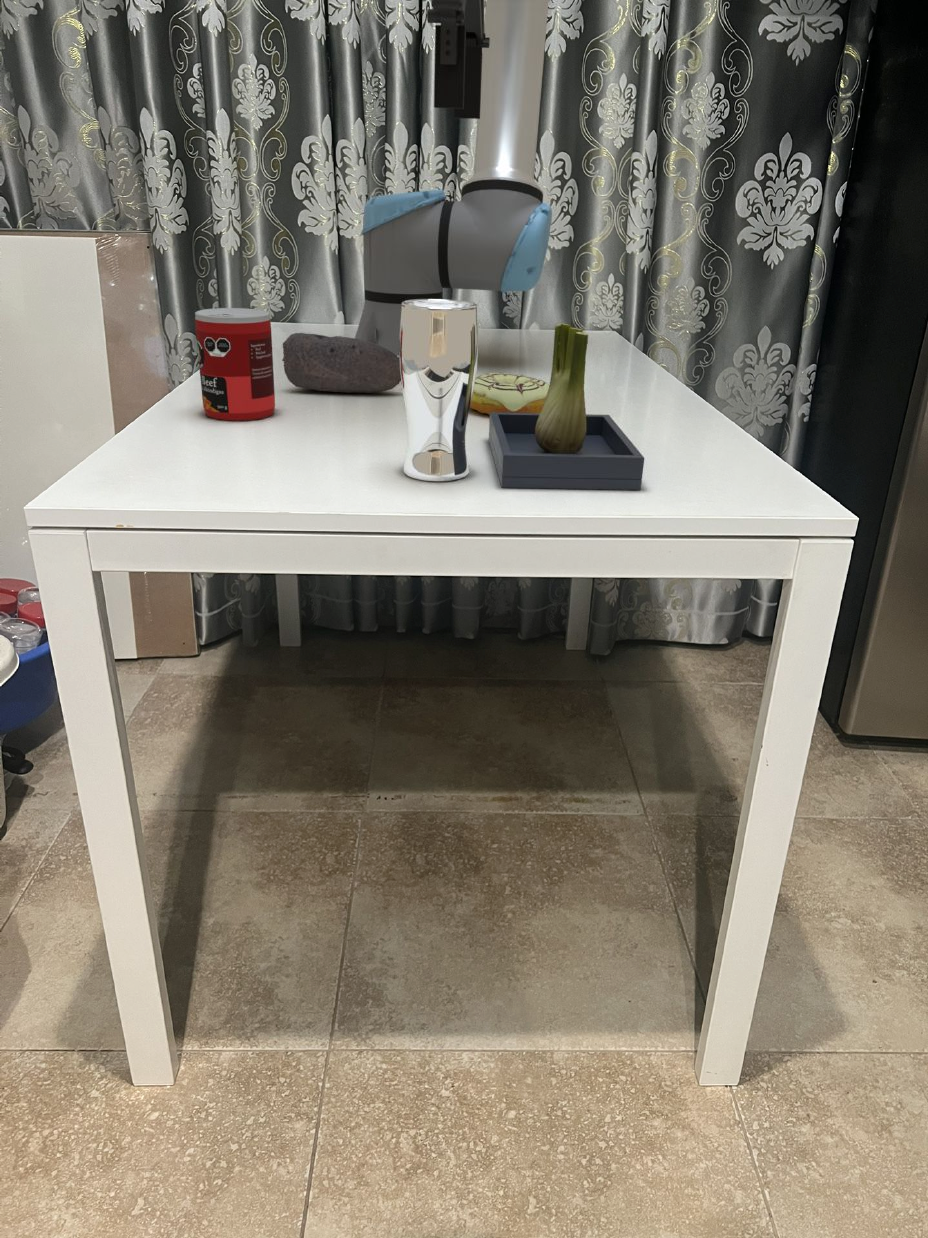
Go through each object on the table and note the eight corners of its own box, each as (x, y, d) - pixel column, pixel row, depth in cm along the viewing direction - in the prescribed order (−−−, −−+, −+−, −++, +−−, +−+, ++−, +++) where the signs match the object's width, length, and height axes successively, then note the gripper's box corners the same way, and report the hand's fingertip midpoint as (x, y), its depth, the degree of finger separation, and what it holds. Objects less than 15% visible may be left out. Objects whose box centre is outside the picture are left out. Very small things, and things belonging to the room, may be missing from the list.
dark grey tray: (488, 440, 96) (489, 411, 94) (606, 442, 96) (609, 414, 95) (501, 487, 81) (503, 454, 80) (640, 490, 82) (644, 457, 80)
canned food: (198, 408, 105) (189, 308, 100) (267, 404, 108) (261, 307, 103) (209, 423, 98) (200, 317, 94) (282, 418, 101) (277, 316, 97)
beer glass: (414, 486, 80) (415, 308, 74) (388, 465, 86) (387, 298, 80) (485, 479, 83) (493, 307, 76) (455, 459, 89) (460, 297, 82)
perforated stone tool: (407, 391, 117) (407, 335, 114) (400, 399, 112) (400, 341, 109) (293, 384, 118) (291, 329, 115) (282, 392, 114) (278, 335, 111)
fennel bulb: (583, 462, 86) (595, 330, 80) (531, 458, 86) (540, 327, 81) (584, 446, 91) (596, 321, 86) (535, 443, 91) (544, 319, 86)
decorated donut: (522, 424, 103) (524, 391, 101) (445, 410, 108) (446, 377, 106) (567, 409, 110) (569, 377, 109) (493, 396, 116) (495, 366, 114)
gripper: (445, -114, 93) (440, 120, 103) (398, -210, 71) (397, 101, 80) (517, -114, 93) (506, 122, 102) (493, -211, 70) (482, 103, 79)
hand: (458, 113), depth 91 cm, fingers open, 13 cm apart
